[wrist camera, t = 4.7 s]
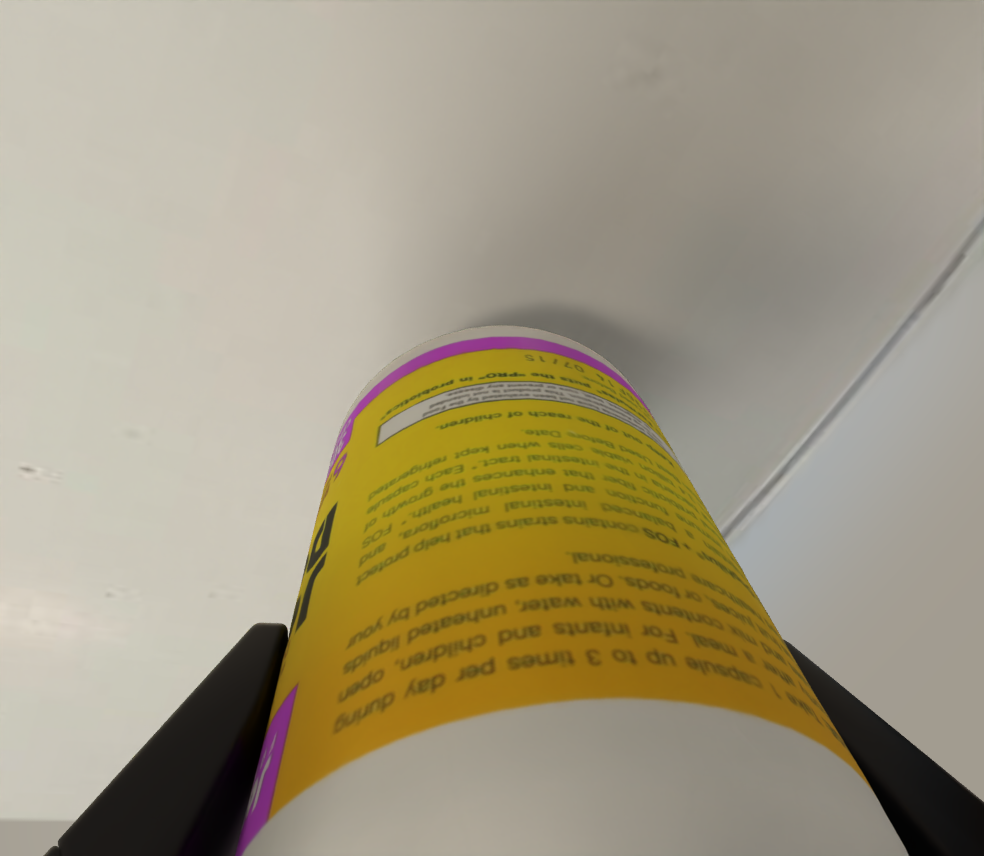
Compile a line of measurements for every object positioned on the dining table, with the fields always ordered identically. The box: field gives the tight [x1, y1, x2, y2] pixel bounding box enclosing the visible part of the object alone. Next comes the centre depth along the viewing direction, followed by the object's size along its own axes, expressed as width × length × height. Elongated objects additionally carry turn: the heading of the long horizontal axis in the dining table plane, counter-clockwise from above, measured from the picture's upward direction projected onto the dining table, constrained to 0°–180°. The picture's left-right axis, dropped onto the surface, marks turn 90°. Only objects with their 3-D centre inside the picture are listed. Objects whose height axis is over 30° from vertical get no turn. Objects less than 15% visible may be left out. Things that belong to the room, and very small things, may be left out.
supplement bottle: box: [235, 325, 909, 856], centre depth 9 cm, size 7×7×13 cm
